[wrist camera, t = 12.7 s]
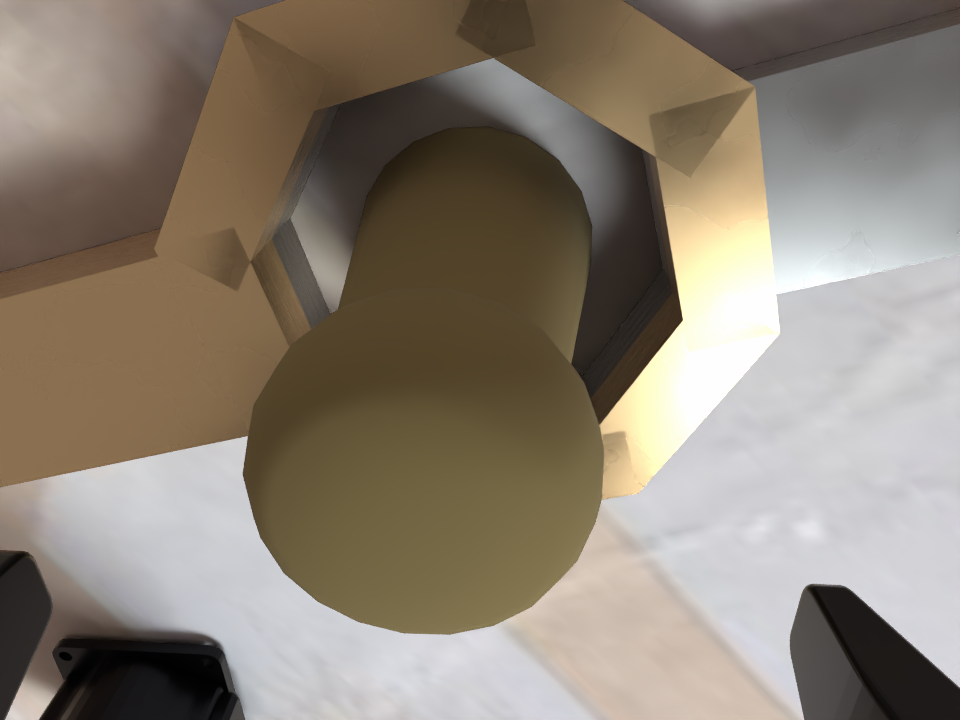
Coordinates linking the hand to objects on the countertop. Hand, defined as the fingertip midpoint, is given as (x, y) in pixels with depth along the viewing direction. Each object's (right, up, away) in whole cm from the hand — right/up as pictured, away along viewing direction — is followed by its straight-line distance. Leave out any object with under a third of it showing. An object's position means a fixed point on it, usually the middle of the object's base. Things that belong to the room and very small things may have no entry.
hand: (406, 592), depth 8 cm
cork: (+1, +6, +11) cm, 12 cm away
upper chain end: (-5, +4, +12) cm, 13 cm away
